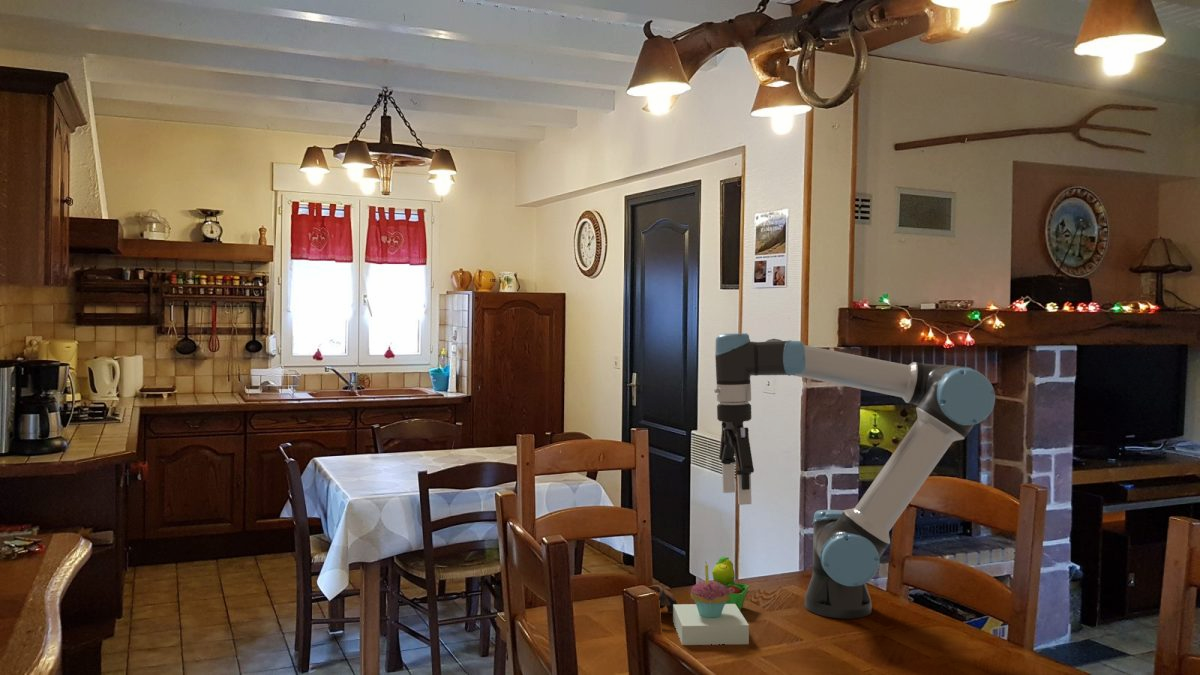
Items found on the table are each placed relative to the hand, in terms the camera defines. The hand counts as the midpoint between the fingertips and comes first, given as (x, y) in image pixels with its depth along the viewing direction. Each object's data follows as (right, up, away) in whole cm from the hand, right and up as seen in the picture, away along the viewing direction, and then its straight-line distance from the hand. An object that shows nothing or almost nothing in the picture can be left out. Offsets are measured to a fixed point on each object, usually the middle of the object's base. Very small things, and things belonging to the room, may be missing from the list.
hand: (736, 498), depth 202 cm
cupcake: (-7, -24, -6) cm, 26 cm away
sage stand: (-7, -28, -6) cm, 29 cm away
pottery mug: (-17, -28, +5) cm, 33 cm away
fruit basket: (-2, -28, +11) cm, 30 cm away
